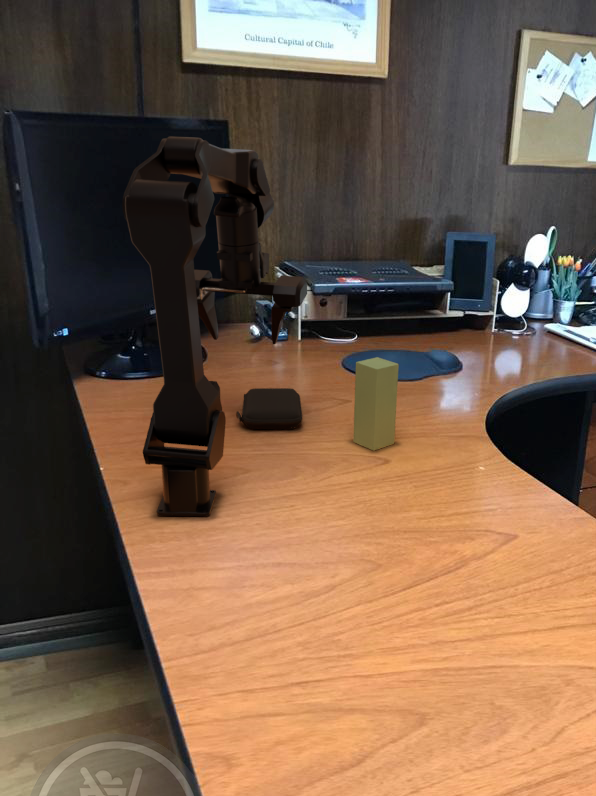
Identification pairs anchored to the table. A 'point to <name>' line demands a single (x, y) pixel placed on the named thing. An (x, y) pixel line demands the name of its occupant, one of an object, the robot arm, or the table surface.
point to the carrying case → (271, 408)
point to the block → (375, 403)
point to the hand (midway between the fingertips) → (245, 341)
